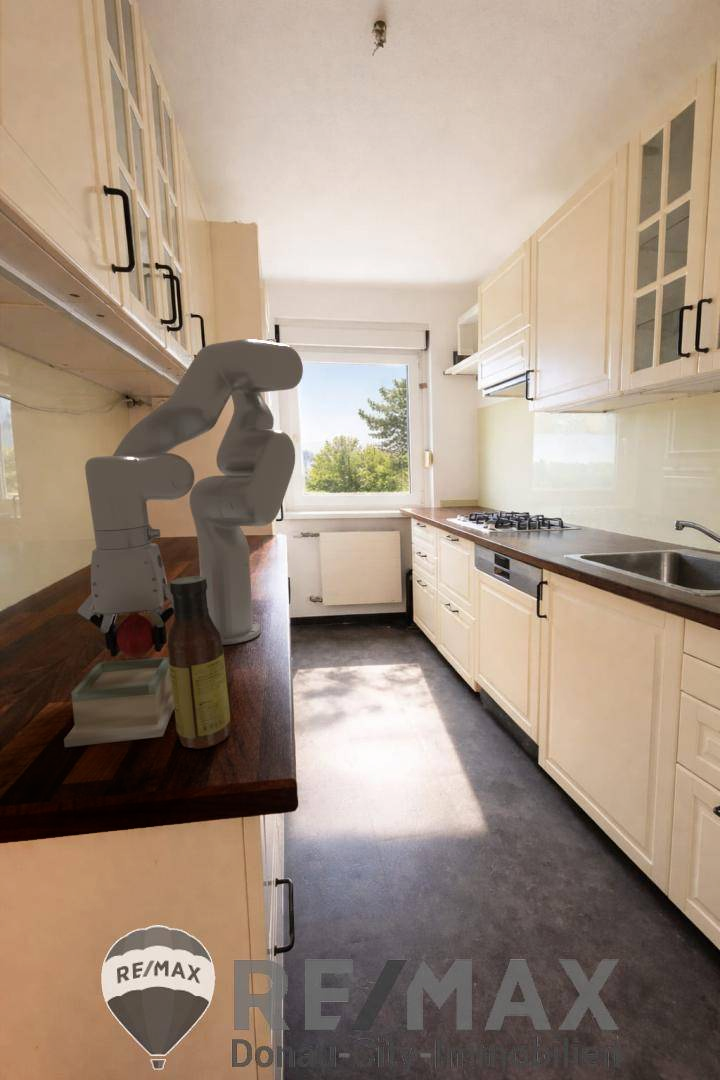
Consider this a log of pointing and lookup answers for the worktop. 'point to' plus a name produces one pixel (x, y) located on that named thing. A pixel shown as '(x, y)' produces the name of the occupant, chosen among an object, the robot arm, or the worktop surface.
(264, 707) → the worktop surface
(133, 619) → the onion
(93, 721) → the open box
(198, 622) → the sauce bottle
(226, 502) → the robot arm
